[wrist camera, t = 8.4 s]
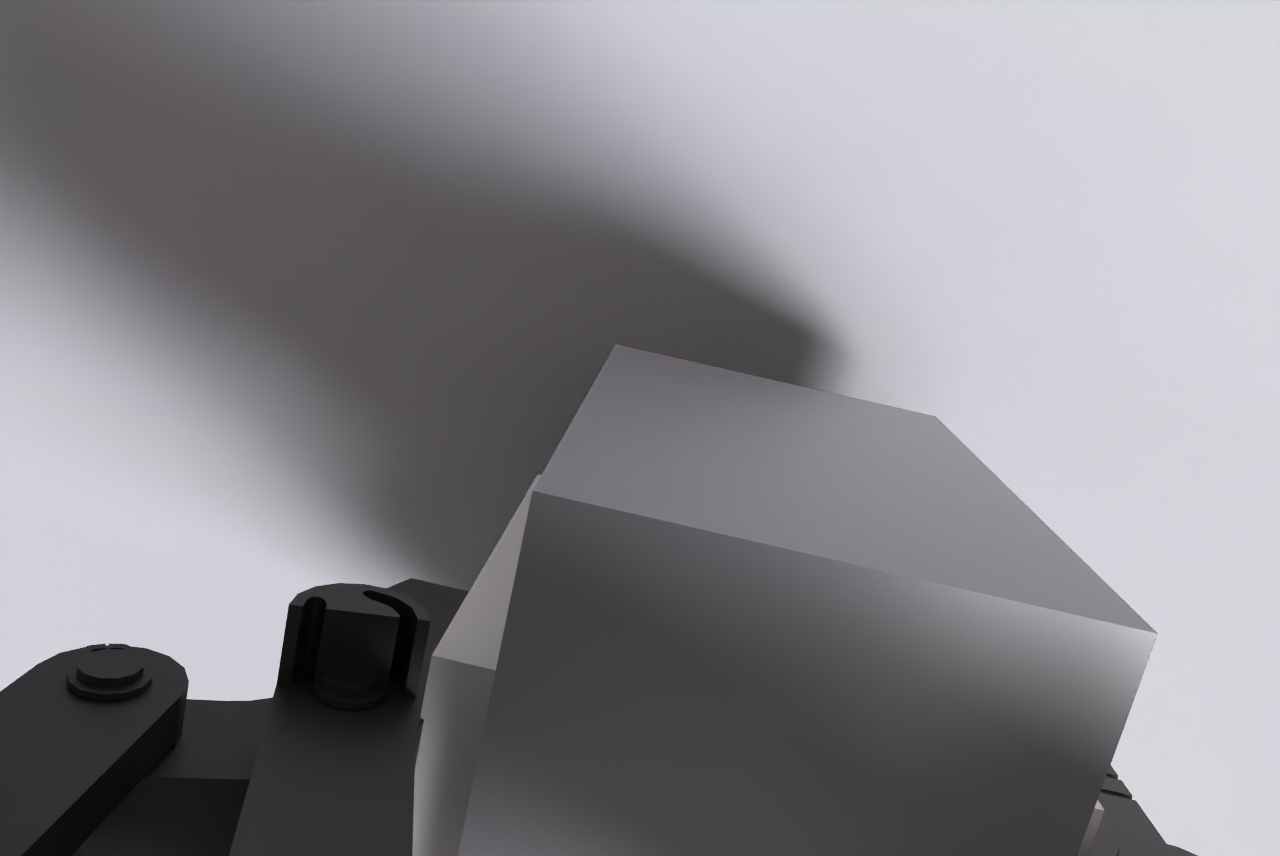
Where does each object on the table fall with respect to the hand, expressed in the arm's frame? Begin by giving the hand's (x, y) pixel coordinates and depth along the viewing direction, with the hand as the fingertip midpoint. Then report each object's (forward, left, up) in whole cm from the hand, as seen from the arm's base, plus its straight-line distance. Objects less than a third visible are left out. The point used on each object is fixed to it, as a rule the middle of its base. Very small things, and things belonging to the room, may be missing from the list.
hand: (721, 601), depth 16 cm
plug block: (0, 0, 0) cm, 0 cm away
